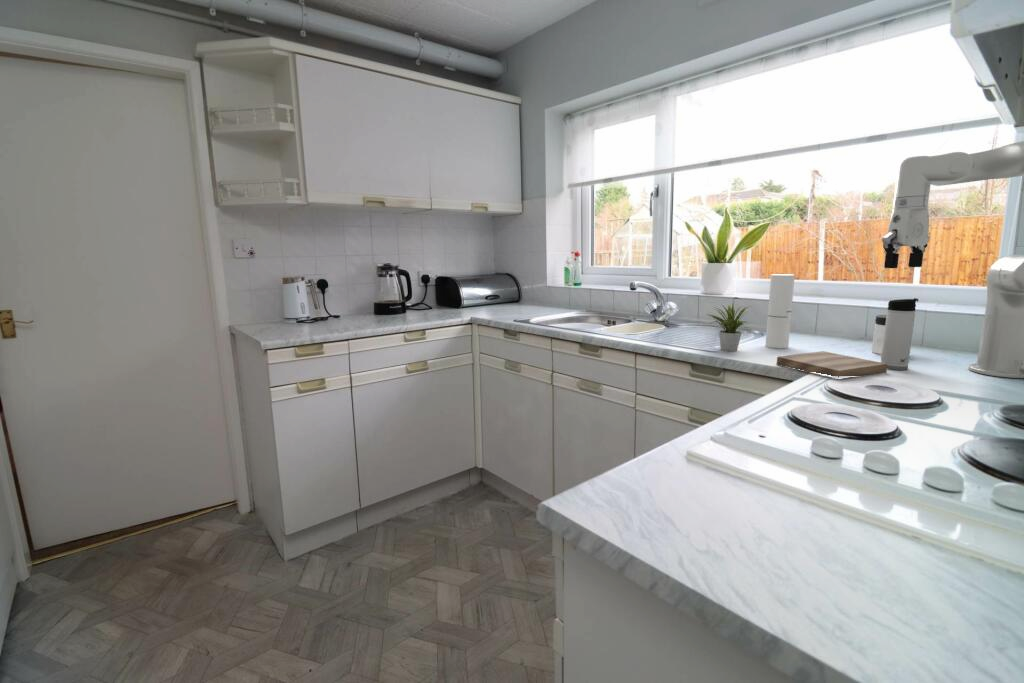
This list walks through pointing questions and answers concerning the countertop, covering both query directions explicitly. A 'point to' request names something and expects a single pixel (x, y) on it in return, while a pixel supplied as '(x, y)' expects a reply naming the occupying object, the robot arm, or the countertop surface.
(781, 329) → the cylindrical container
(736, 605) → the countertop surface
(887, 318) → the travel mug
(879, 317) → the jar
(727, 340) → the house plant
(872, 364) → the walnut board
